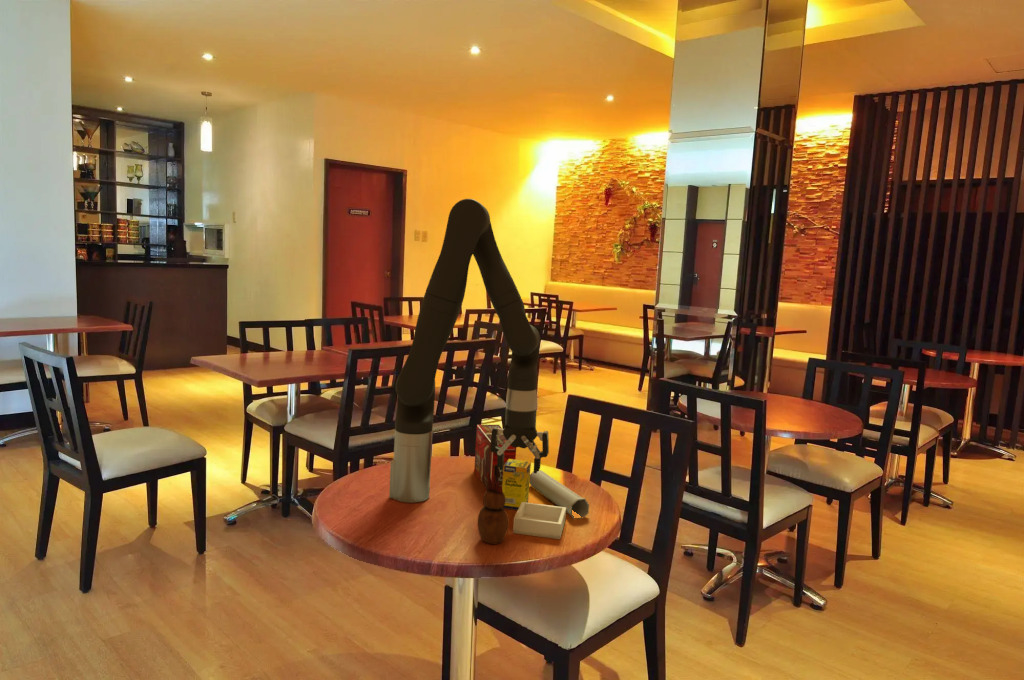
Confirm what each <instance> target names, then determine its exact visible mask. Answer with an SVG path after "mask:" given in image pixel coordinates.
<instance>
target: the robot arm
mask: <svg viewBox="0 0 1024 680" xmlns="http://www.w3.org/2000/svg"><path fill="white" fill-rule="evenodd" d="M446 222H447V223H446V228H445V233H444V238H443V242H442V245H441V250H440V252H439V253H440V254H439V256H438V259H437V261H436V263H435V265H434V268H433V270H432V273H431V276H430V279H429V280H428V281H429V282H428V285H427V287H426V290H425V292H424V295H423V298H422V300H421V301H422V302H421V305H420V308H419V312H418V316H417V320H416V325H415V329H414V333H413V339H412V344H411V347H410V350H409V353H408V355H407V357H406V359H405V362H404V364H403V367H402V369H401V371H400V373H399V375H398V376H397V377H396V378H397V379H396V381H395V392H396V396H397V400H396V401H397V402H396V403H397V404H396V411H395V412H396V413H395V414H396V415H395V420H394V439H393V440H394V443H393V445H394V446H393V459H391V460H390V469H389V470H390V471H389V476H390V478H389V495H388V497H389V498H390V499H393V500H395V501H398V502H401V503H420V502H425V501H426V500H428V499H429V498H430V491H431V487H430V485H431V467H432V451H433V449H432V448H433V447H432V445H433V424H434V414H435V400H436V399H435V397H436V375H437V372H438V367H439V362H440V359H441V356H442V354H443V351H444V349H445V347H446V344H447V342H448V340H449V339H450V337H451V335H452V332H453V330H454V327H455V326H456V325H455V324H456V323H457V321H458V318H459V314H460V311H461V309H462V305H463V303H464V302H463V301H464V299H465V294H466V289H467V284H468V283H467V282H468V276H469V268H470V263H471V260H472V257H474V260H475V262H476V264H477V267H478V269H479V272H480V273H479V274H480V276H481V278H482V282H483V285H484V288H485V290H486V294H487V296H488V298H489V300H490V303H491V306H492V307H493V308H494V311H495V313H496V316H497V318H498V320H499V322H500V327H501V330H502V333H503V337H504V340H505V341H506V344H507V346H508V348H509V350H510V351H511V362H510V366H509V368H508V373H507V374H508V376H507V392H506V396H505V397H506V398H505V399H506V400H505V422H504V423H505V424H504V428H502V427H501V428H502V429H501V428H498V427H497V426H496V427H494V428H493V430H492V435H491V445H490V451H491V452H494V453H496V454H497V467H499V470H503V466H504V453H503V452H504V451H505V450H506V449H507V448H508V447H509V445H511V446H512V447H515V448H516V449H517V448H521V449H528V450H529V452H531V453H532V454H533V455H532V456H534V459H533V471H534V473H537V471H540V469H541V462H542V461H541V460H542V458H547V457H548V455H549V453H550V447H549V446H550V445H549V443H550V442H549V441H550V440H549V439H550V438H549V431H547V430H544V431H538V430H537V410H538V409H537V407H538V394H537V393H538V392H537V386H538V385H537V383H538V369H537V368H538V361H539V354H540V348H541V347H540V345H541V336H540V333H539V331H538V329H537V328H536V327H535V326H533V325H531V324H530V321H529V319H528V316H527V315H526V309H525V304H524V301H523V299H522V296H521V294H520V292H519V290H518V287H517V286H516V284H515V281H514V278H513V277H512V275H511V274H510V271H509V269H508V266H507V265H506V263H505V261H504V259H503V256H502V254H501V251H500V249H499V247H498V244H497V241H496V237H495V235H494V230H493V227H492V223H491V217H490V212H489V211H488V209H487V208H486V207H485V206H484V205H483V204H482V203H481V202H479V201H478V200H476V199H473V198H464V199H461V200H459V201H457V202H456V203H455V204H454V205H453V206H452V208H451V209H450V211H449V213H448V219H447V221H446ZM502 433H503V435H504V436H505V438H506V439H507V441H506V442H505V443H504V444H503V445H502V447H501V448H499V447H497V441H498V437H499V436H500V435H501V434H502ZM537 437H538V439H539V441H540V442H541V443H542V448H541V449H542V450H540V449H539V447H538V444H536V442H535V439H536V438H537Z"/></svg>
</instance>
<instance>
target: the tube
mask: <svg viewBox="0 0 1024 680" xmlns="http://www.w3.org/2000/svg"><path fill="white" fill-rule="evenodd" d="M529 486H531V487H532V488H533V489H534V488H535V489H534V490H535V491H537V492H538V491H539V492H538V493H540V494H541V495H542V494H543V495H542V496H544V497H545V498H546V497H547V498H546V499H548V501H550V500H551V503H553V504H554V503H555V504H554V505H555V506H559V507H566V514H568V515H569V516H571V517H572V519H573V518H574V516H573V515H572V510H573V511H574V512H576V513H577V514H579V515H580V516H581V517H584V518H585V517H586V516H587V515H589V513H590V503H589V502H588V501H587V499H586V497H581V496H580V495H579V494H577V493H576V492H574V491H573V490H571V489H570V488H569V487H567V486H565V485H564V484H563V483H561V482H559V481H558V480H556V479H555V478H553V477H552V476H550V475H549V474H547V473H546V472H545V471H543V470H540V469H539V471H537V473H534V470H533V471H532V472H530V481H529ZM573 520H576V519H575V518H574V519H573Z"/></svg>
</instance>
